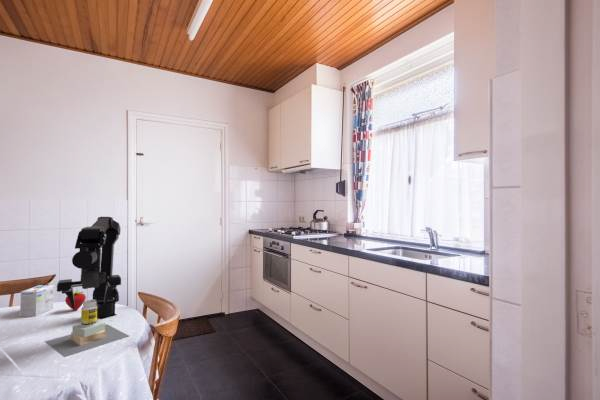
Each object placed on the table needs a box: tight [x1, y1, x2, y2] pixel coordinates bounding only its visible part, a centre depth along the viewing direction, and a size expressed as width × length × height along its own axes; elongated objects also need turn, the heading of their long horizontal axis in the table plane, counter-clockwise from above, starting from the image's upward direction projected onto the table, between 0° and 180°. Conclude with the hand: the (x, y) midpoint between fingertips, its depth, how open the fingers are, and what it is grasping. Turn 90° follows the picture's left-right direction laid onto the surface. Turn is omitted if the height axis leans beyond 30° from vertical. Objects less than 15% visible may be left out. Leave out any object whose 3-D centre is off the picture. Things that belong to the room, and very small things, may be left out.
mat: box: [44, 323, 130, 358], centre depth 111 cm, size 20×18×1 cm
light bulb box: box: [19, 284, 55, 317], centre depth 137 cm, size 11×7×11 cm, turn 5°
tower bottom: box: [70, 330, 106, 346], centre depth 111 cm, size 8×8×2 cm
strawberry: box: [65, 289, 87, 312], centre depth 140 cm, size 6×8×10 cm
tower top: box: [71, 320, 106, 337], centre depth 111 cm, size 7×7×2 cm
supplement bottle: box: [80, 298, 98, 327], centre depth 111 cm, size 5×5×8 cm
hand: (89, 306), depth 111 cm, fingers open, 9 cm apart
